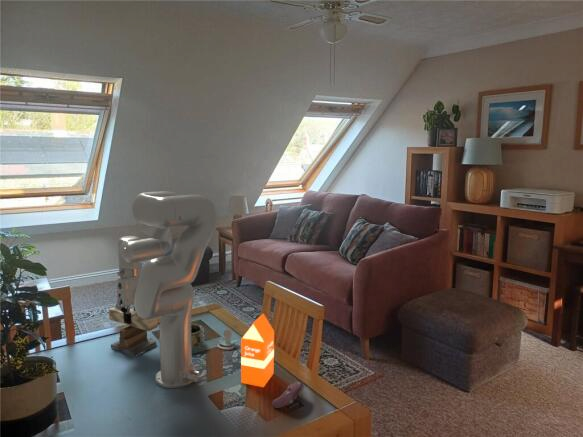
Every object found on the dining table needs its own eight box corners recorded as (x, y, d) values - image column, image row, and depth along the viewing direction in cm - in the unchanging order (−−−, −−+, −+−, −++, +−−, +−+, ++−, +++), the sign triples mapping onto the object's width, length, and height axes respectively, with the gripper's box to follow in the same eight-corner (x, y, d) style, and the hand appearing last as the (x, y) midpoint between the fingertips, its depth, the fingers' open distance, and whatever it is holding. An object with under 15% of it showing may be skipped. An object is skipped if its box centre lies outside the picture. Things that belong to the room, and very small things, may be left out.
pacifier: (232, 352, 156) (239, 344, 161) (231, 336, 154) (238, 328, 160) (213, 348, 158) (221, 341, 164) (213, 332, 157) (221, 325, 162)
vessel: (210, 344, 161) (210, 328, 160) (193, 353, 154) (193, 336, 153) (187, 336, 167) (187, 320, 166) (170, 344, 160) (169, 328, 159)
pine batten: (157, 327, 153) (157, 316, 152) (148, 331, 150) (148, 320, 149) (118, 315, 163) (117, 305, 162) (109, 319, 159) (108, 309, 158)
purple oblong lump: (281, 416, 121) (291, 399, 119) (269, 405, 123) (279, 388, 121) (299, 399, 130) (309, 383, 127) (288, 389, 132) (297, 372, 129)
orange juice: (240, 382, 135) (240, 321, 132) (251, 369, 144) (252, 311, 140) (264, 387, 133) (264, 325, 130) (274, 373, 141) (275, 314, 138)
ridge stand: (156, 345, 159) (155, 324, 158) (134, 356, 150) (133, 334, 149) (133, 337, 165) (132, 317, 163) (110, 348, 156) (109, 327, 155)
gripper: (118, 279, 144) (121, 331, 147) (156, 267, 158) (157, 315, 161) (103, 275, 148) (105, 327, 151) (141, 264, 162) (143, 311, 165)
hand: (132, 320), depth 156 cm, fingers closed on pine batten, 3 cm apart
